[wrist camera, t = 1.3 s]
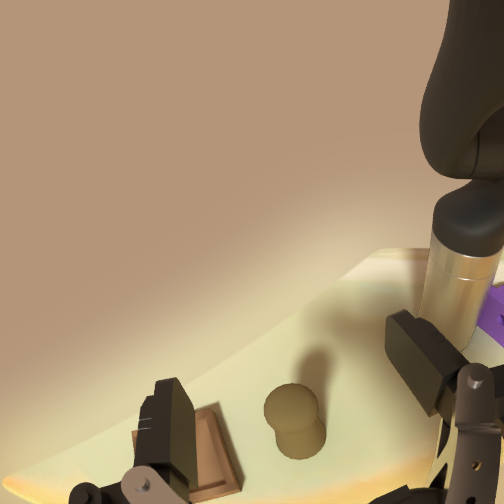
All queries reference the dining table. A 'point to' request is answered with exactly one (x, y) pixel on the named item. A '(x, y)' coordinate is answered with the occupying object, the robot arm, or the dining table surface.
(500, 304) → the bracket
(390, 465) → the dining table surface
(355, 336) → the dining table surface
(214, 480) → the tray
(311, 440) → the olive pepper mill
